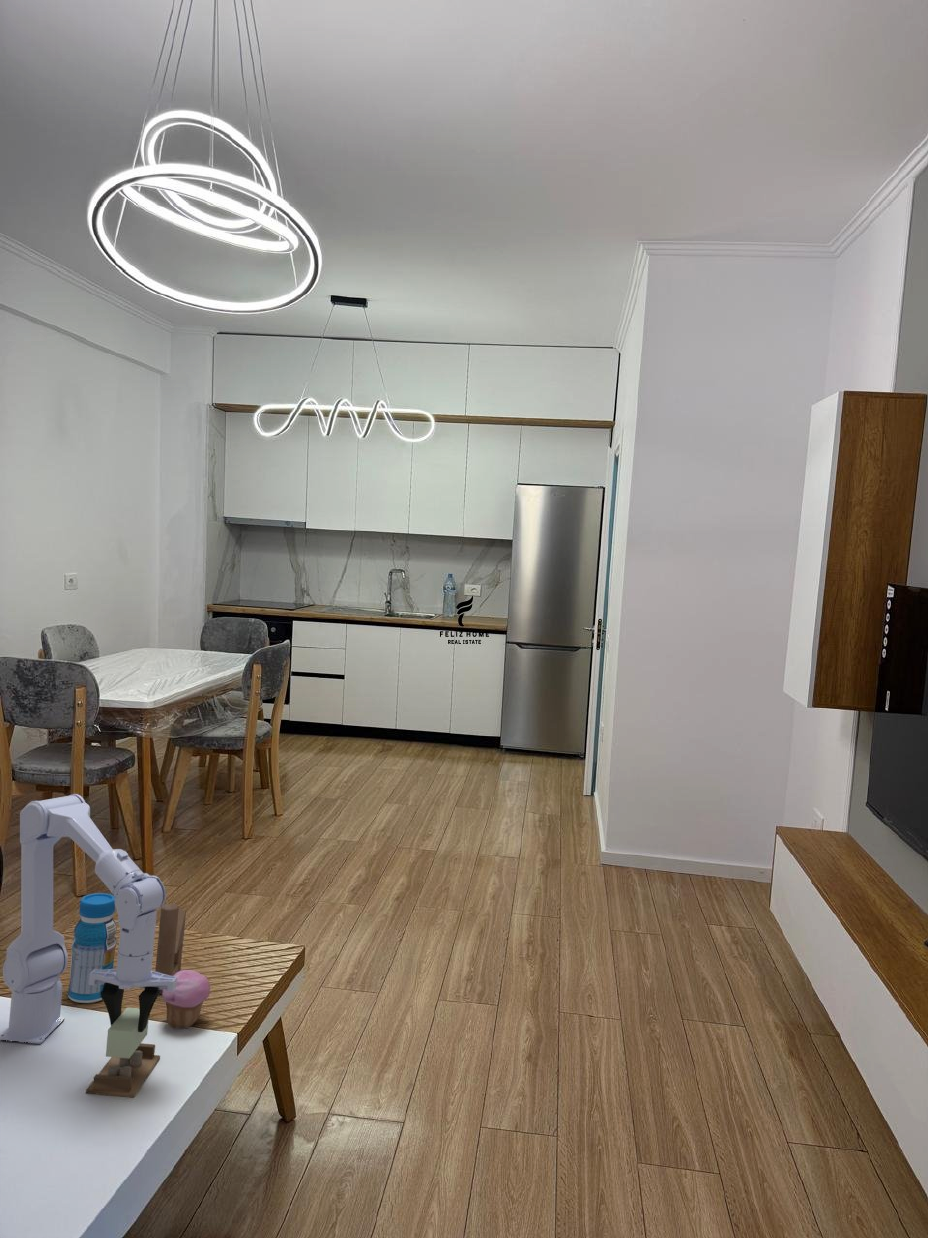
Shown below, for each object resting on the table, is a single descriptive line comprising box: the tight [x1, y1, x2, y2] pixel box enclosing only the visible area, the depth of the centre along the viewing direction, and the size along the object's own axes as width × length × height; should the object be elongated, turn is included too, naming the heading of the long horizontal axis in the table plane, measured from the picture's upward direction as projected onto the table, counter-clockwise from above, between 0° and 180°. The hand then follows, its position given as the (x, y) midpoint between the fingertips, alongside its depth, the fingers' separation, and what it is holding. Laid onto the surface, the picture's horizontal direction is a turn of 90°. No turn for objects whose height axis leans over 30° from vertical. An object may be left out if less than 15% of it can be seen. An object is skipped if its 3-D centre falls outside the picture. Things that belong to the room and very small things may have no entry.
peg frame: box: [85, 1042, 161, 1098], centre depth 144 cm, size 12×8×3 cm, turn 0°
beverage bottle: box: [67, 892, 118, 1004], centre depth 171 cm, size 8×8×20 cm
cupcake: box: [161, 969, 211, 1029], centre depth 163 cm, size 9×9×10 cm
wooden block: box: [154, 903, 187, 995], centre depth 179 cm, size 4×11×18 cm, turn 7°
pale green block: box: [105, 1007, 149, 1058], centre depth 144 cm, size 8×4×4 cm, turn 0°
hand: (128, 1028), depth 144 cm, fingers closed on pale green block, 4 cm apart
